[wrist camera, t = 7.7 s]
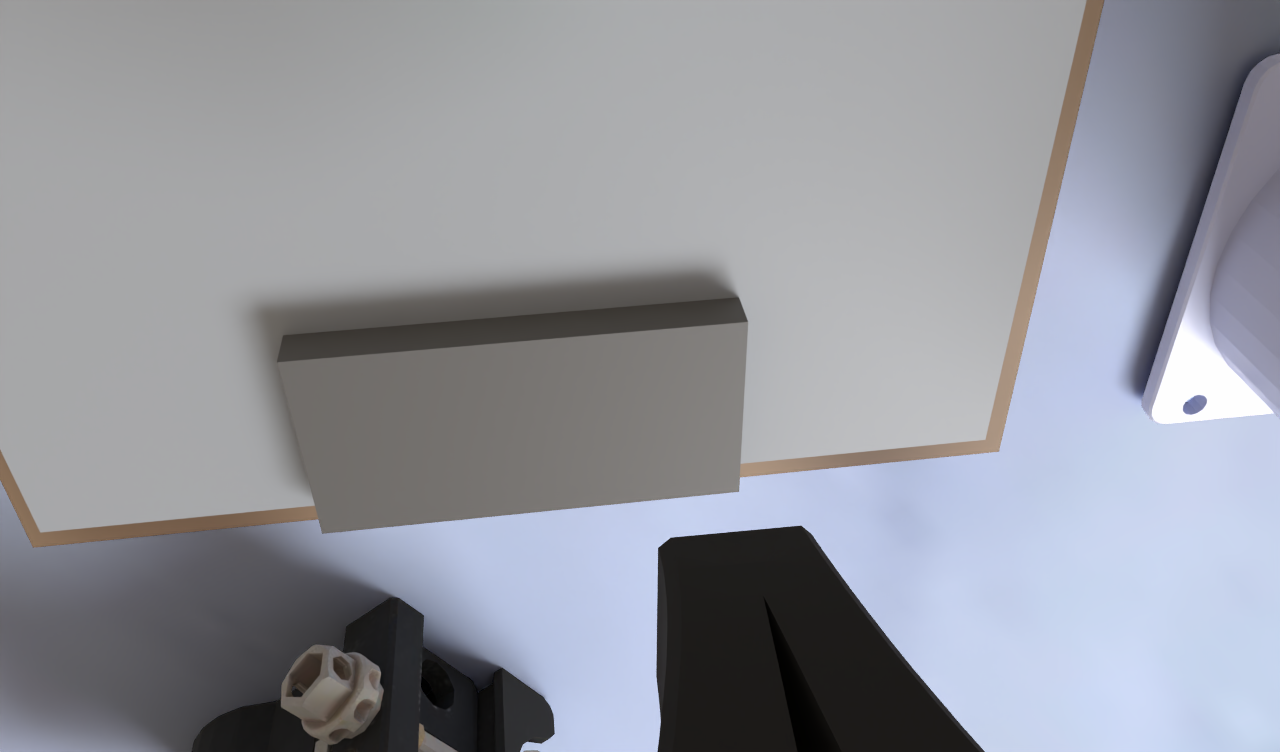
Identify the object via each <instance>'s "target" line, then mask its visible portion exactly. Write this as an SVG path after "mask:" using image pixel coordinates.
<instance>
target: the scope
mask: <svg viewBox="0 0 1280 752" xmlns="http://www.w3.org/2000/svg"><path fill="white" fill-rule="evenodd" d="M423 622H424V615H422V614H421V613H419V612H418V611H416V610H415V609H414V608H412V607H411V606H409V605H408V604H406V603H405V602H404V601H402V600H401V599H399V598H389V599H388V600H386V601H385V602H383V603H382V604H380V605H379V606H377V607H376V608H374V609H373V610H371V611H370V612H368V613H366V614H365V615H363V616H362V617H360V618H359V619H357V620H356V621H354V622H353V623H351V624H350V625H348V626H347V627H346V633H345V642H344V651H343V652H341V651H340V650H338V649H337V648H335V647H334V646H328V645H316V644H315V645H313V646H311V647H310V648H309V649H308V650H307V651H305V652H304V653H303V654H302V655H301V656H300V657H298V658H297V659H296V660H295V662H294V664H293V665H292V667H291V669H290V670H289V672H288V674H287V675H286V677H285V679H284V681H283V682H282V686H281V699H280V700H278V701H276V702H270V703H264V704H257V705H251V706H245V707H241V708H238V709H236V710H233V711H231V712H229V713H226V714H224V715H221V716H219V717H217V718H216V719H214V720H213V721H212V722H210V723H209V724H208V725H206V726H205V727H204V728H203V729H202V730H201V732H200V733H199V735H198V736H197V738H196V739H195V740H194V744H193V748H192V752H520V750H521V748H522V745H523V744H524V743H526V742H534V743H543V742H545V741H546V740H548V739H549V738H550V737H552V736H553V735H554V734H555V733H554V717H553V713H552V710H551V708H550V706H549V704H548V703H547V702H546V700H545V699H544V698H543V697H542V696H540V695H539V694H538V693H536V692H535V691H533V690H532V689H531V688H529V687H528V686H527V685H525V684H524V683H522V682H521V681H520V680H518V679H517V678H515V677H514V676H513V675H511V674H510V673H508V672H507V671H506V670H504V669H503V668H502V669H500V670H498V671H497V672H495V673H494V679H493V684H492V685H490V686H488V687H487V688H485V689H483V690H482V691H480V692H479V693H477V691H476V688H475V686H474V683H473V681H472V680H471V679H469V678H468V677H466V676H465V675H463V674H462V673H461V672H459V671H458V670H456V669H455V668H453V667H452V666H450V665H449V664H447V663H446V662H445V661H443V660H442V659H440V658H439V657H437V656H436V655H434V654H433V653H431V652H430V651H428V650H427V649H426V648H424V647H423ZM421 675H422V676H423V678H424V679H425V680H426V681H427V682H428V683H429V684H430V687H431V689H432V692H430V693H429V694H427V695H425V694H424V693H423V691H422V689H421ZM293 686H295V687H296V688H297V689H295V690H294V691H292V687H293ZM524 752H539V751H538V750H533V751H524Z"/></svg>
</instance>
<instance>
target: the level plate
mask: <svg viewBox="0 0 1280 752" xmlns="http://www.w3.org/2000/svg"><path fill="white" fill-rule="evenodd" d="M1086 1H1087V0H0V450H1V452H2V454H3V456H4V458H5V460H6V463H7V465H8V467H9V469H10V471H11V473H12V475H13V477H14V479H15V481H16V483H17V485H18V487H19V489H20V491H21V494H22V496H23V498H24V500H25V502H26V504H27V506H28V508H29V510H30V512H31V514H32V516H33V518H34V520H35V523H36V525H37V527H38V529H39V531H40V533H41V532H51V531H61V530H72V529H82V528H92V527H102V526H112V525H122V524H133V523H143V522H153V521H163V520H173V519H184V518H194V517H204V516H214V515H224V514H234V513H245V512H255V511H265V510H275V509H285V508H295V507H306V506H315V508H316V512H317V516H318V519H319V523H320V527H321V531H322V534H323V533H333V532H343V531H353V530H363V529H373V528H383V527H393V526H403V525H412V524H422V523H432V522H442V521H452V520H462V519H472V518H482V517H492V516H502V515H512V514H522V513H532V512H542V511H552V510H561V509H571V508H581V507H591V506H601V505H611V504H621V503H631V502H641V501H651V500H661V499H671V498H681V497H691V496H700V495H710V494H720V493H730V492H739V483H740V464H743V463H754V462H764V461H774V460H784V459H794V458H804V457H815V456H825V455H835V454H845V453H855V452H866V451H876V450H886V449H896V448H906V447H916V446H927V445H937V444H947V443H957V442H967V441H978V440H985V439H986V435H987V431H988V426H989V422H990V418H991V413H992V409H993V405H994V400H995V396H996V392H997V387H998V383H999V379H1000V374H1001V370H1002V366H1003V361H1004V357H1005V353H1006V348H1007V344H1008V340H1009V335H1010V331H1011V327H1012V322H1013V318H1014V313H1015V309H1016V305H1017V300H1018V296H1019V292H1020V287H1021V283H1022V279H1023V274H1024V270H1025V266H1026V261H1027V257H1028V253H1029V248H1030V244H1031V240H1032V235H1033V231H1034V227H1035V222H1036V218H1037V214H1038V209H1039V205H1040V201H1041V196H1042V192H1043V188H1044V183H1045V179H1046V175H1047V170H1048V166H1049V162H1050V157H1051V153H1052V149H1053V144H1054V140H1055V136H1056V131H1057V127H1058V123H1059V118H1060V114H1061V110H1062V105H1063V101H1064V97H1065V92H1066V88H1067V83H1068V79H1069V75H1070V70H1071V66H1072V62H1073V57H1074V53H1075V49H1076V44H1077V40H1078V36H1079V31H1080V27H1081V23H1082V18H1083V14H1084V10H1085V5H1086Z"/></svg>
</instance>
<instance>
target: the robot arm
mask: <svg viewBox="0 0 1280 752" xmlns="http://www.w3.org/2000/svg"><path fill="white" fill-rule="evenodd" d="M1193 396H1194V397H1193ZM1191 397H1193V398H1192V399H1191V400H1189V401H1188V402H1186V401H1187V400H1188V399H1189V398H1191ZM1141 406H1142V408H1143V410H1144V412H1145V413H1146V414H1147V416H1148V417H1149V418H1150V419H1151V420H1152V421H1154V422H1155V423H1158V424H1170V423H1180V422H1191V421H1201V420H1211V419H1221V418H1231V417H1241V416H1252V415H1262V414H1272V413H1275V414H1276V415H1277V416H1278V417H1279V418H1280V53H1279V54H1276V55H1272V56H1269V57H1267V58H1265V59H1264V60H1262V61H1261V62H1259V63H1258V64H1257V65H1256V66H1255V67H1254V68H1253V69H1252V70H1251V71H1250V73H1249V75H1248V77H1247V79H1246V81H1245V83H1244V85H1243V88H1242V92H1241V95H1240V98H1239V101H1238V104H1237V107H1236V110H1235V113H1234V116H1233V119H1232V122H1231V126H1230V129H1229V132H1228V135H1227V138H1226V141H1225V144H1224V147H1223V150H1222V153H1221V156H1220V160H1219V163H1218V166H1217V169H1216V172H1215V175H1214V178H1213V181H1212V184H1211V187H1210V190H1209V194H1208V197H1207V200H1206V203H1205V206H1204V209H1203V212H1202V215H1201V218H1200V221H1199V224H1198V228H1197V231H1196V234H1195V237H1194V240H1193V243H1192V246H1191V249H1190V252H1189V255H1188V258H1187V262H1186V265H1185V268H1184V271H1183V274H1182V277H1181V280H1180V283H1179V286H1178V289H1177V292H1176V296H1175V299H1174V302H1173V305H1172V308H1171V311H1170V314H1169V317H1168V320H1167V323H1166V326H1165V330H1164V333H1163V336H1162V339H1161V342H1160V345H1159V348H1158V351H1157V354H1156V357H1155V361H1154V364H1153V367H1152V370H1151V373H1150V376H1149V379H1148V382H1147V385H1146V388H1145V391H1144V395H1143V398H1142V405H1141ZM657 685H658V693H659V703H660V714H661V727H660V737H659V745H658V752H984V750H983V749H982V748H981V747H980V746H979V745H978V744H977V743H976V741H975V740H974V739H973V738H972V737H971V736H970V735H969V734H968V733H967V731H966V730H965V729H964V728H963V727H962V726H961V725H960V723H959V722H958V721H957V720H956V719H955V718H954V716H953V715H952V714H951V713H950V712H949V711H948V709H947V708H946V707H945V706H944V705H943V703H942V702H941V701H940V700H939V699H938V698H937V696H936V695H935V694H934V693H933V692H932V691H931V689H930V688H929V687H928V686H927V685H926V683H925V682H924V681H923V680H922V679H921V678H920V676H919V675H918V674H917V673H916V672H915V671H914V669H913V668H912V667H911V666H910V664H909V663H908V662H907V661H906V660H905V658H904V657H903V656H902V655H901V653H900V652H899V651H898V650H897V648H896V647H895V646H894V645H893V643H892V642H891V641H890V640H889V638H888V637H887V636H886V635H885V633H884V632H883V631H882V629H881V628H880V627H879V626H878V624H877V623H876V622H875V620H874V619H873V618H872V617H871V615H870V614H869V613H868V611H867V610H866V609H865V608H864V606H863V605H862V604H861V602H860V601H859V600H858V598H857V597H856V596H855V594H854V593H853V592H852V590H851V589H850V588H849V586H848V585H847V583H846V582H845V581H844V579H843V578H842V577H841V575H840V574H839V573H838V571H837V570H836V568H835V567H834V566H833V564H832V563H831V561H830V560H829V559H828V557H827V556H826V554H825V553H824V552H823V550H822V549H821V547H820V546H819V544H818V543H817V542H816V540H815V539H814V537H813V536H812V534H811V533H809V532H808V531H807V530H806V529H805V528H803V527H802V526H793V527H782V528H771V529H760V530H750V531H739V532H728V533H717V534H706V535H695V536H684V537H674V538H670V539H669V540H667V541H666V542H665V543H664V544H663V545H661V546H660V547H659V548H658V603H657Z"/></svg>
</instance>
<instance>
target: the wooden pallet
mask: <svg viewBox="0 0 1280 752" xmlns="http://www.w3.org/2000/svg"><path fill="white" fill-rule="evenodd" d="M1103 4H1104V0H1087V1H1086V5H1085V10H1084V14H1083V18H1082V23H1081V27H1080V31H1079V36H1078V40H1077V44H1076V49H1075V53H1074V57H1073V62H1072V66H1071V70H1070V75H1069V79H1068V83H1067V88H1066V92H1065V97H1064V101H1063V105H1062V110H1061V114H1060V118H1059V123H1058V127H1057V131H1056V136H1055V140H1054V144H1053V149H1052V153H1051V157H1050V162H1049V166H1048V170H1047V175H1046V179H1045V183H1044V188H1043V192H1042V196H1041V201H1040V205H1039V209H1038V214H1037V218H1036V222H1035V227H1034V231H1033V235H1032V240H1031V244H1030V248H1029V253H1028V257H1027V261H1026V266H1025V270H1024V274H1023V279H1022V283H1021V287H1020V292H1019V296H1018V300H1017V305H1016V309H1015V313H1014V318H1013V322H1012V327H1011V331H1010V335H1009V340H1008V344H1007V348H1006V353H1005V357H1004V361H1003V366H1002V370H1001V374H1000V379H999V383H998V387H997V392H996V396H995V400H994V405H993V409H992V413H991V418H990V422H989V426H988V431H987V435H986V439H985V440H978V441H967V442H957V443H947V444H937V445H927V446H916V447H906V448H896V449H886V450H876V451H866V452H855V453H845V454H835V455H825V456H815V457H804V458H794V459H784V460H774V461H764V462H754V463H743V464H740V477H748V476H758V475H768V474H778V473H788V472H798V471H808V470H818V469H828V468H838V467H848V466H858V465H868V464H879V463H889V462H899V461H909V460H919V459H929V458H939V457H949V456H959V455H969V454H979V453H989V452H999V448H1000V444H1001V440H1002V436H1003V431H1004V427H1005V423H1006V418H1007V414H1008V410H1009V406H1010V401H1011V397H1012V393H1013V389H1014V384H1015V380H1016V376H1017V371H1018V367H1019V363H1020V359H1021V354H1022V350H1023V346H1024V342H1025V337H1026V333H1027V329H1028V324H1029V320H1030V316H1031V312H1032V307H1033V303H1034V299H1035V295H1036V290H1037V286H1038V282H1039V277H1040V273H1041V269H1042V265H1043V260H1044V256H1045V252H1046V247H1047V243H1048V239H1049V235H1050V230H1051V226H1052V222H1053V218H1054V213H1055V209H1056V205H1057V200H1058V196H1059V192H1060V188H1061V183H1062V179H1063V175H1064V171H1065V166H1066V162H1067V158H1068V153H1069V149H1070V145H1071V141H1072V136H1073V132H1074V128H1075V123H1076V119H1077V115H1078V111H1079V106H1080V102H1081V98H1082V94H1083V89H1084V85H1085V81H1086V76H1087V72H1088V68H1089V64H1090V59H1091V55H1092V51H1093V47H1094V42H1095V38H1096V34H1097V29H1098V25H1099V21H1100V17H1101V12H1102V8H1103ZM0 480H1V482H2V484H3V486H4V488H5V490H6V492H7V495H8V497H9V499H10V501H11V503H12V505H13V507H14V509H15V511H16V513H17V515H18V517H19V519H20V521H21V523H22V526H23V528H24V530H25V532H26V534H27V536H28V538H29V540H30V542H31V544H32V546H33V548H34V547H44V546H54V545H64V544H74V543H84V542H94V541H104V540H114V539H124V538H134V537H144V536H154V535H164V534H174V533H185V532H195V531H205V530H215V529H225V528H235V527H245V526H255V525H265V524H275V523H285V522H295V521H305V520H315V519H318V516H317V512H316V508H315V506H306V507H295V508H285V509H275V510H265V511H255V512H245V513H234V514H224V515H214V516H204V517H194V518H184V519H173V520H163V521H153V522H143V523H133V524H122V525H112V526H102V527H92V528H82V529H72V530H61V531H51V532H41V533H40V531H39V529H38V527H37V525H36V523H35V520H34V518H33V516H32V514H31V512H30V510H29V508H28V506H27V504H26V502H25V500H24V498H23V496H22V494H21V491H20V489H19V487H18V485H17V483H16V481H15V479H14V477H13V475H12V473H11V471H10V469H9V467H8V465H7V463H6V460H5V458H4V456H3V454H2V452H1V450H0Z"/></svg>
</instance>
